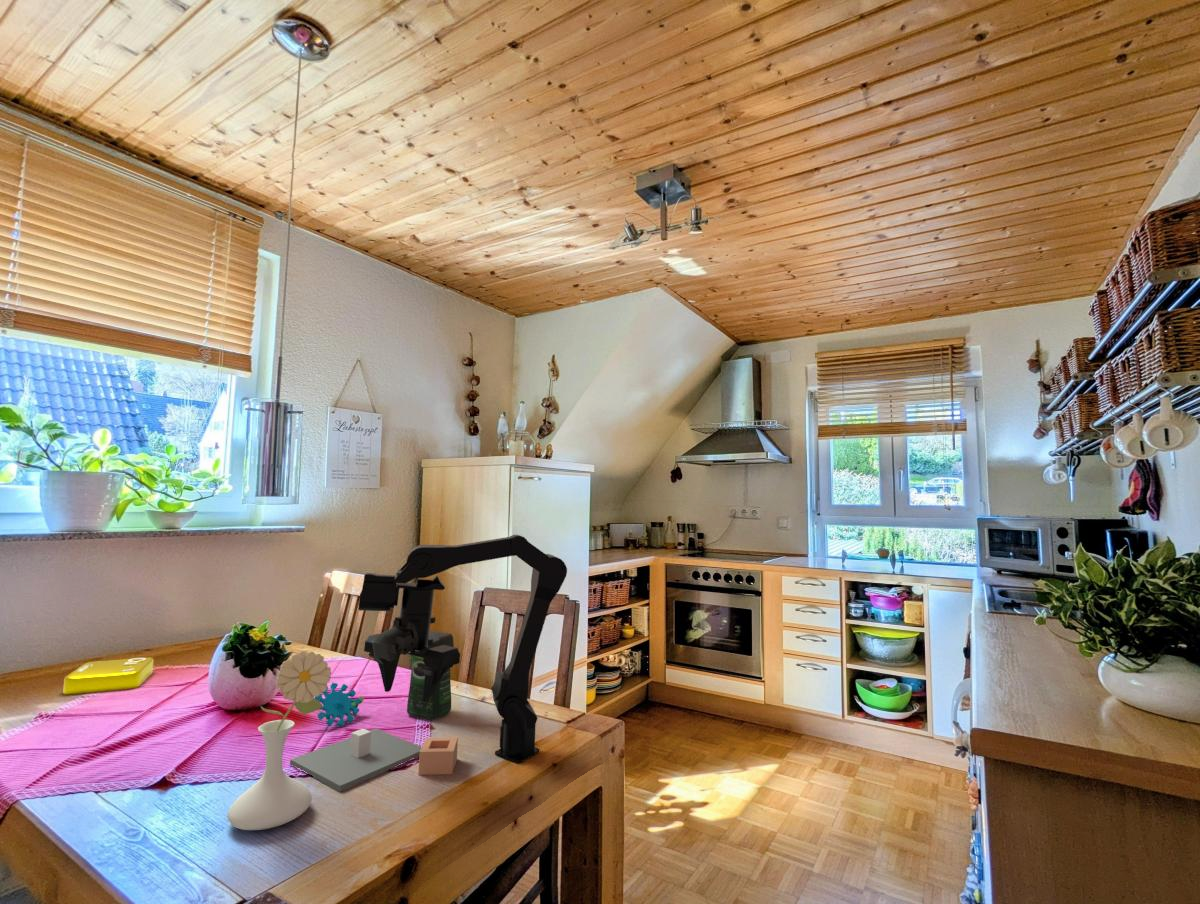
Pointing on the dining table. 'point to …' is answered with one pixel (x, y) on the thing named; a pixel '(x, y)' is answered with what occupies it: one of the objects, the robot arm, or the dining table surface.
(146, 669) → the element tile
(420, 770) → the collar
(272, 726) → the flower in vase
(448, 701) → the coffee jar
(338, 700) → the teal virus model
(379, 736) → the post plate
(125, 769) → the dining table surface
